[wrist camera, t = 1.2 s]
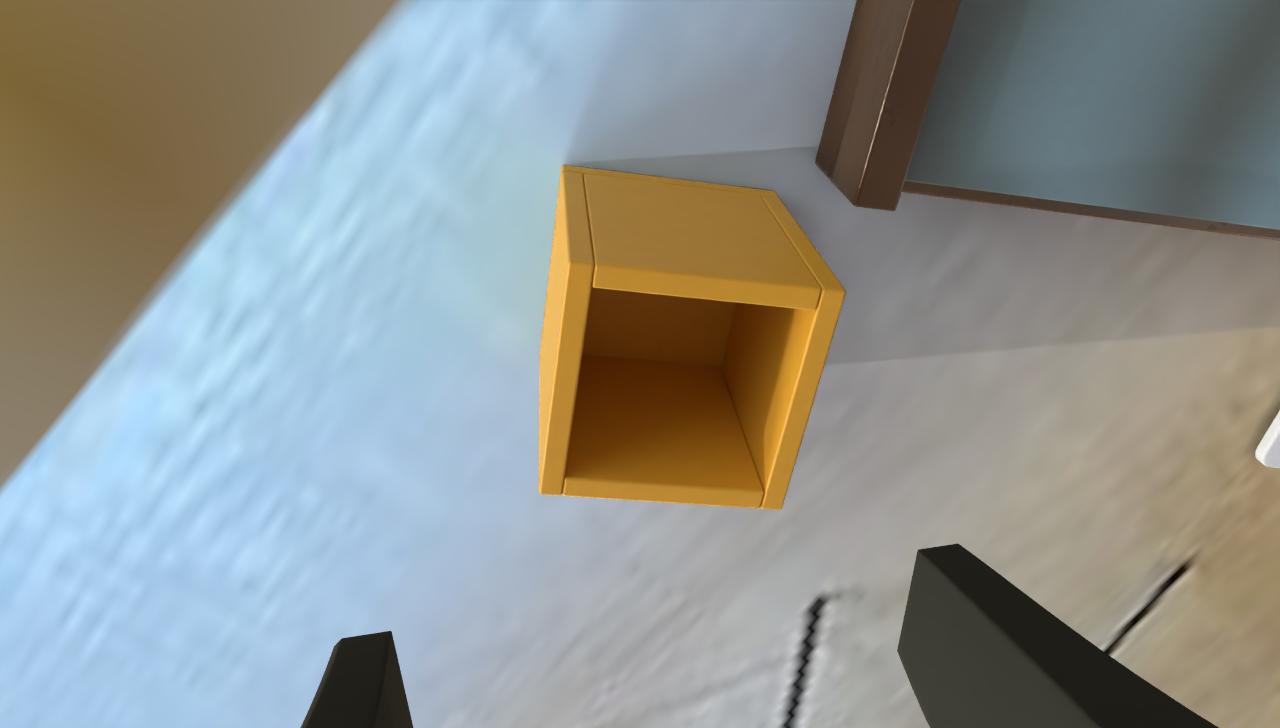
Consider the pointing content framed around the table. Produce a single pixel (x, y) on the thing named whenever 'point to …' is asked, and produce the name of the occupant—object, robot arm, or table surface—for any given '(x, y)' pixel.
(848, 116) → the toy bed
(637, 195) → the small bin
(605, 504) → the table surface
